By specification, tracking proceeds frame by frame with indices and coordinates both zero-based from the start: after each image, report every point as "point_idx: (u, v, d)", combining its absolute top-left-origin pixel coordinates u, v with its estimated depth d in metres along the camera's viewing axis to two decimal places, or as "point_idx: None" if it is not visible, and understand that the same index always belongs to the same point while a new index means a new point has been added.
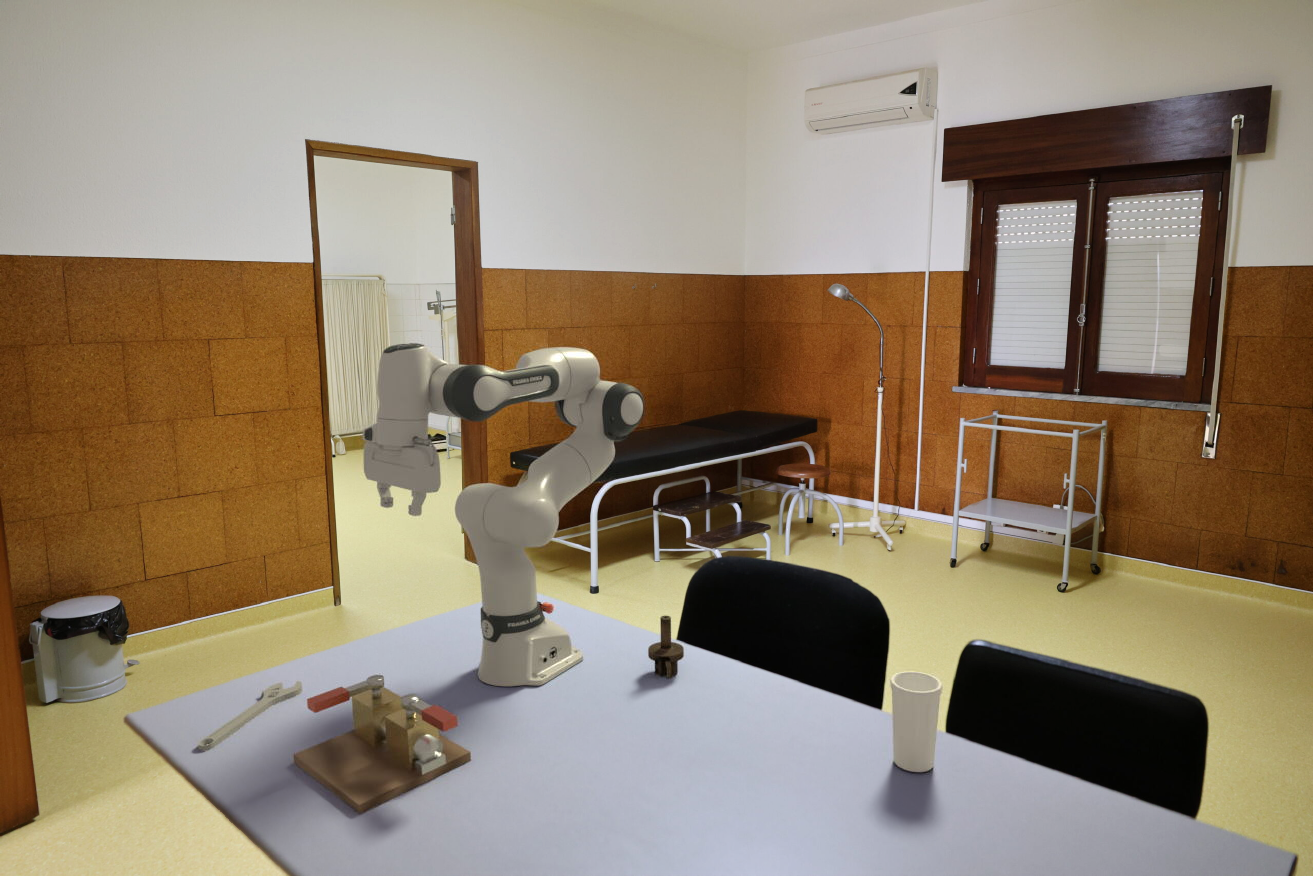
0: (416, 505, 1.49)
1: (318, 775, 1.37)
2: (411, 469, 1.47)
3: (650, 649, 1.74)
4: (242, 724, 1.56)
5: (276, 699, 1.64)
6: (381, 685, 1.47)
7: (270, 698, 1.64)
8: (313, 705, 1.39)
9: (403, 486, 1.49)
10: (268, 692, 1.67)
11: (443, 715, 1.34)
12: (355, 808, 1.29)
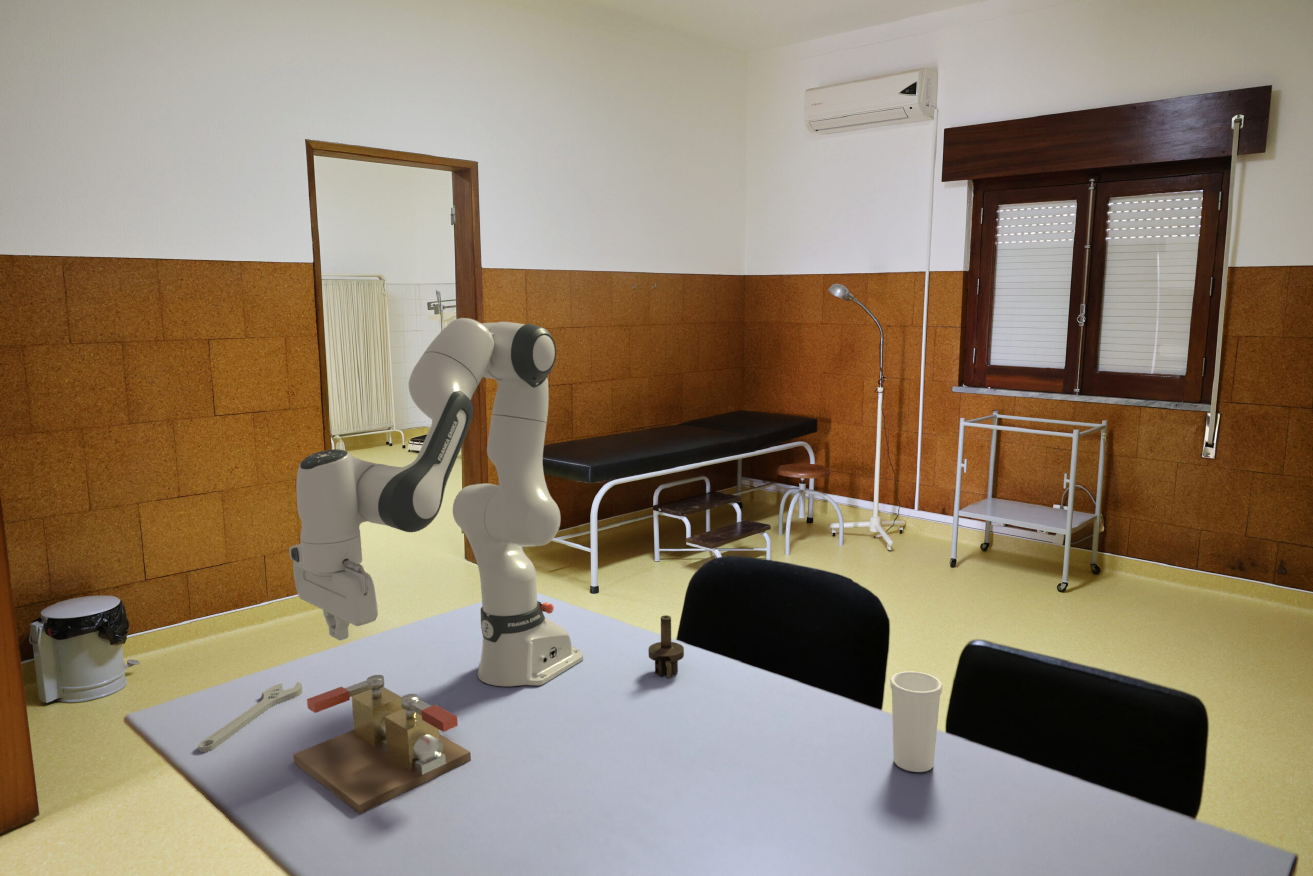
0: (341, 629, 1.35)
1: (318, 775, 1.37)
2: (343, 598, 1.30)
3: (650, 649, 1.74)
4: (242, 725, 1.55)
5: (276, 700, 1.64)
6: (381, 685, 1.47)
7: (270, 699, 1.64)
8: (313, 705, 1.39)
9: (337, 615, 1.32)
10: (268, 693, 1.66)
11: (443, 715, 1.34)
12: (355, 808, 1.29)
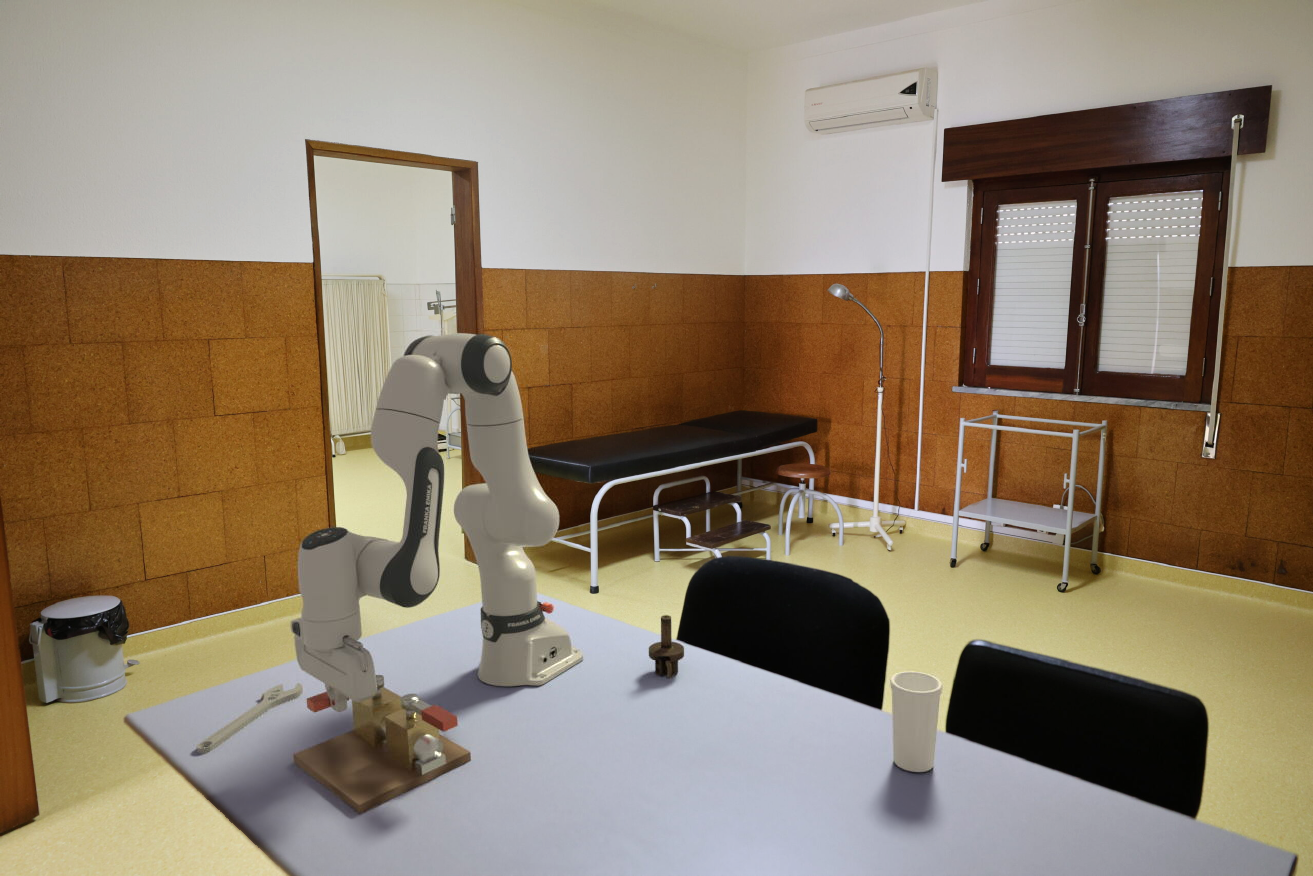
0: (340, 701, 1.39)
1: (318, 775, 1.37)
2: (343, 675, 1.34)
3: (650, 649, 1.74)
4: (241, 726, 1.55)
5: (276, 701, 1.64)
6: (381, 685, 1.47)
7: (270, 700, 1.64)
8: (312, 705, 1.39)
9: (337, 690, 1.36)
10: (268, 694, 1.66)
11: (443, 715, 1.34)
12: (355, 808, 1.29)
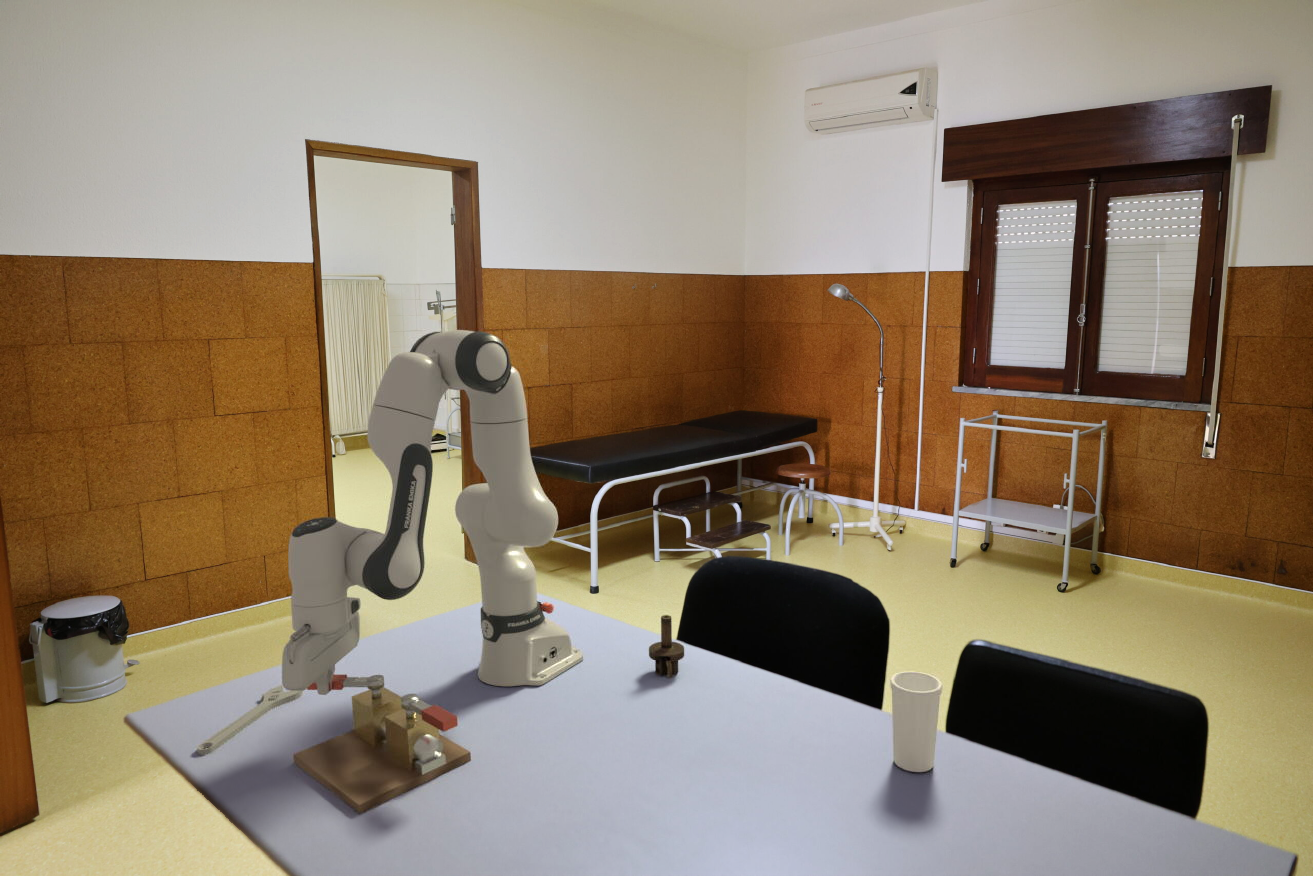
0: (319, 684, 1.45)
1: (318, 775, 1.37)
2: None
3: (651, 649, 1.74)
4: (242, 728, 1.54)
5: (276, 702, 1.63)
6: (375, 687, 1.46)
7: (270, 701, 1.63)
8: None
9: None
10: (268, 695, 1.65)
11: (443, 715, 1.34)
12: (355, 808, 1.29)
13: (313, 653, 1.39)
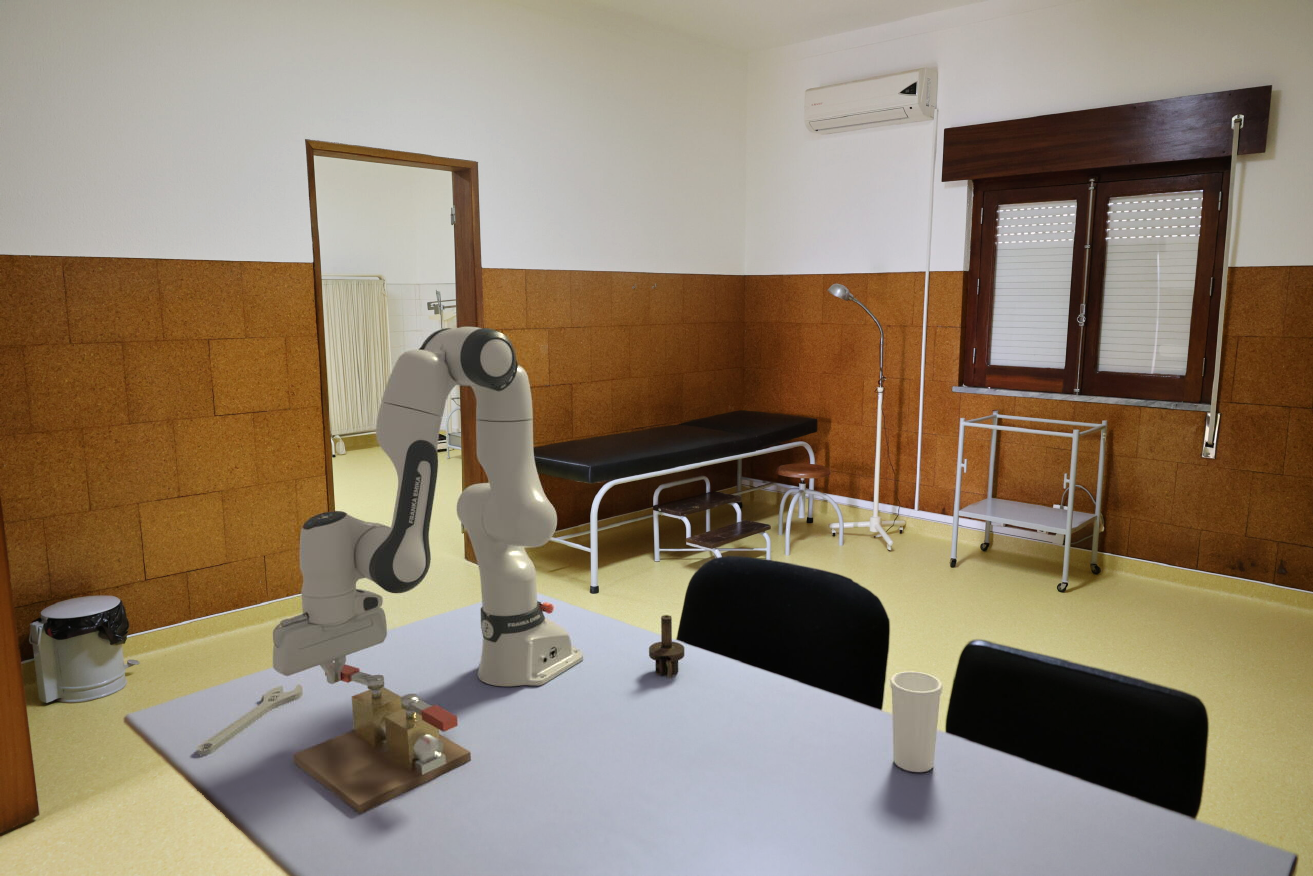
0: (327, 673, 1.49)
1: (318, 775, 1.37)
2: None
3: (651, 649, 1.74)
4: (241, 728, 1.54)
5: (276, 703, 1.63)
6: (371, 687, 1.46)
7: (270, 702, 1.63)
8: None
9: None
10: (268, 696, 1.65)
11: (443, 715, 1.34)
12: (355, 808, 1.29)
13: (305, 642, 1.43)
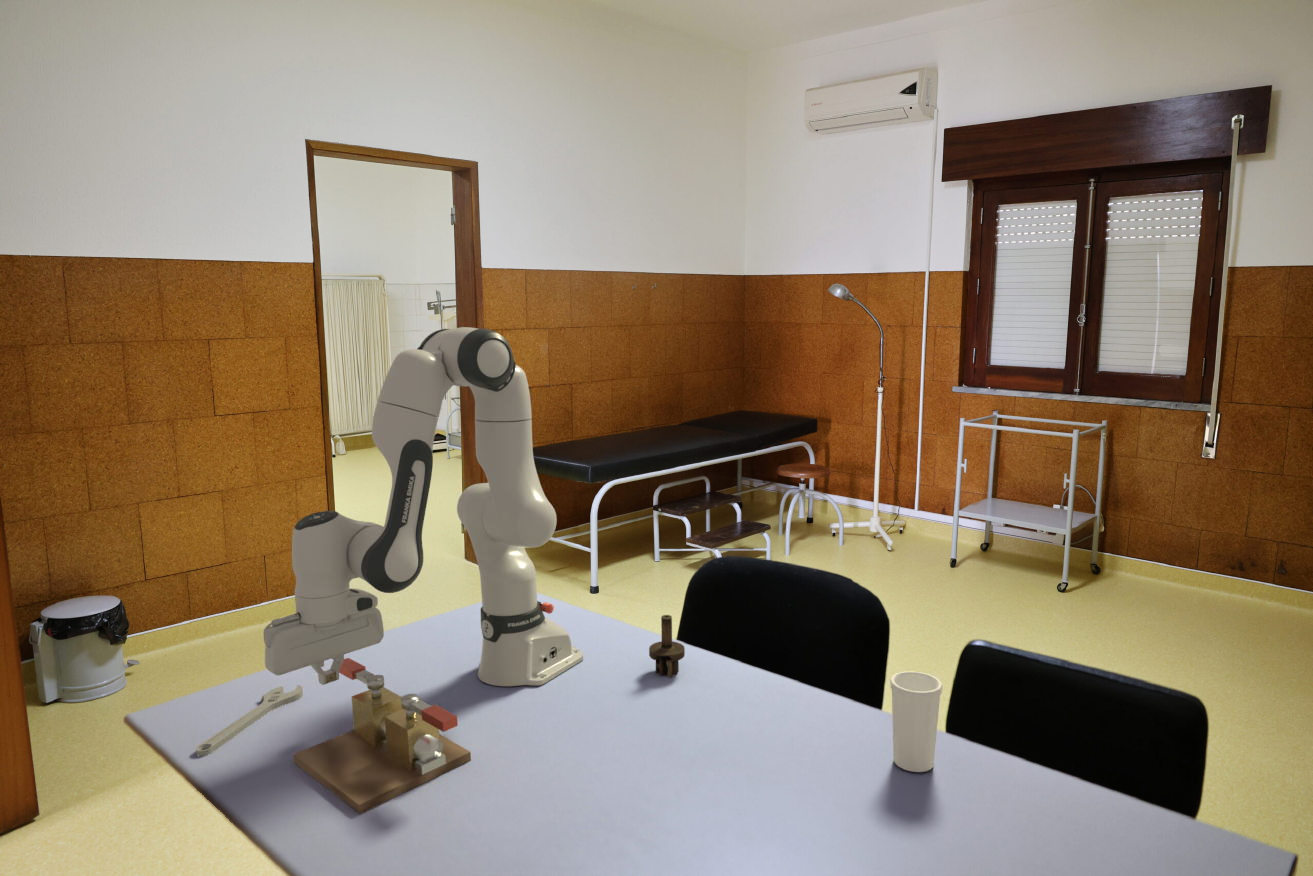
0: (318, 673, 1.48)
1: (318, 775, 1.37)
2: None
3: (651, 648, 1.74)
4: (241, 729, 1.54)
5: (276, 703, 1.63)
6: (369, 686, 1.46)
7: (270, 702, 1.63)
8: None
9: None
10: (268, 696, 1.65)
11: (443, 715, 1.34)
12: (355, 808, 1.29)
13: (296, 642, 1.43)
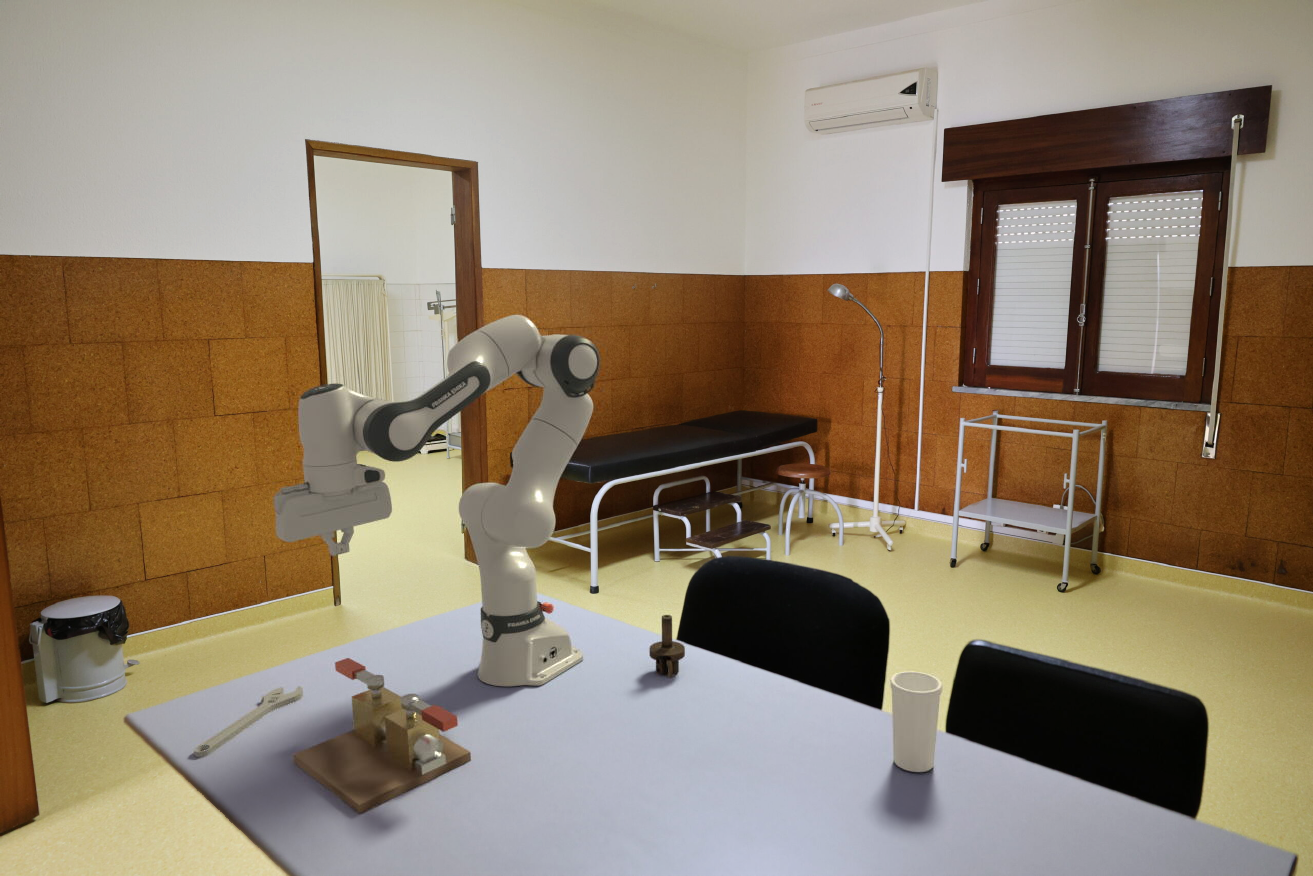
0: (329, 545, 1.51)
1: (318, 775, 1.37)
2: None
3: (651, 648, 1.74)
4: (240, 730, 1.54)
5: (276, 704, 1.62)
6: (369, 686, 1.46)
7: (270, 703, 1.62)
8: None
9: None
10: (268, 697, 1.65)
11: (443, 715, 1.34)
12: (355, 808, 1.29)
13: (306, 510, 1.45)
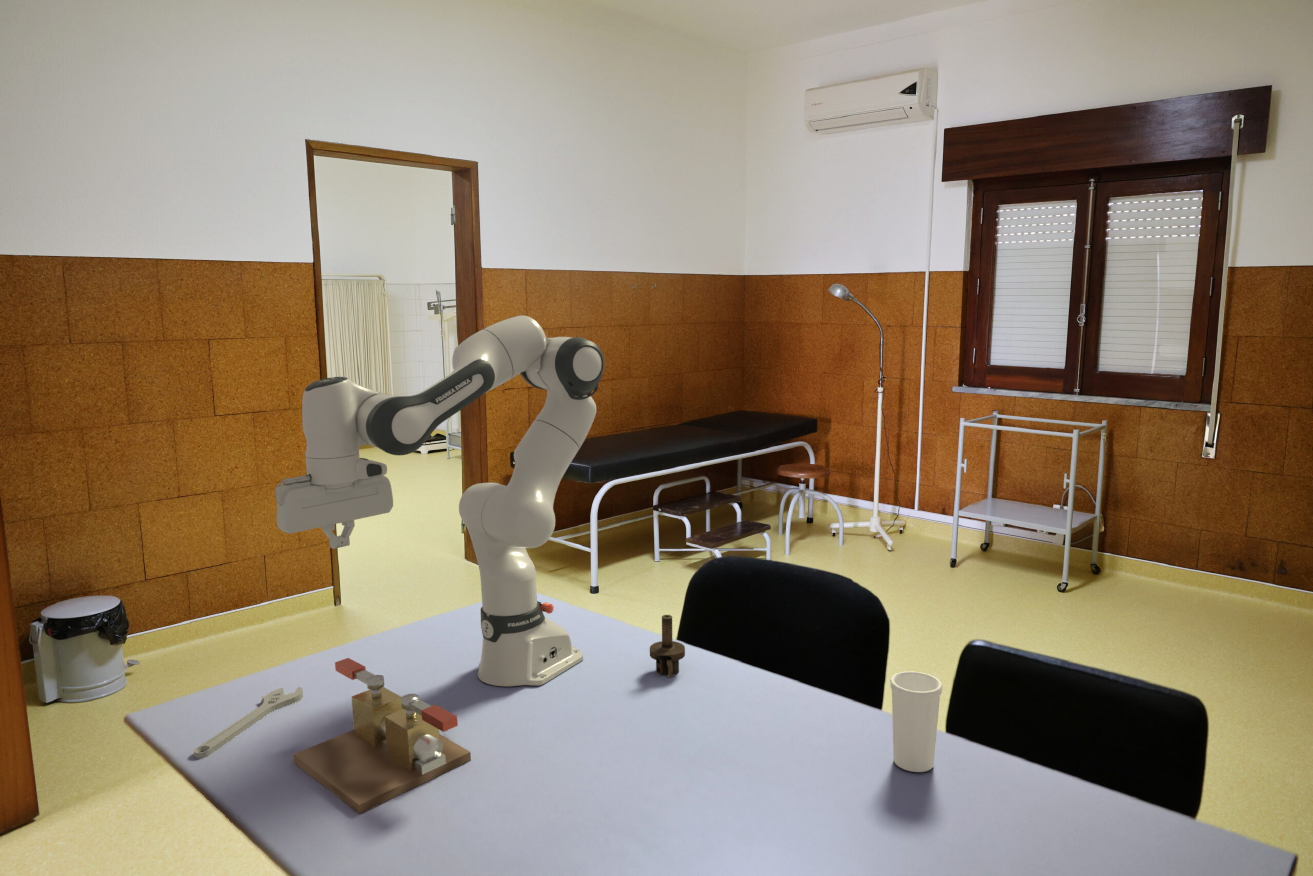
0: (329, 538, 1.51)
1: (318, 775, 1.37)
2: None
3: (651, 648, 1.74)
4: (240, 731, 1.53)
5: (276, 705, 1.62)
6: (369, 686, 1.46)
7: (270, 704, 1.62)
8: None
9: None
10: (268, 698, 1.64)
11: (443, 715, 1.34)
12: (355, 808, 1.29)
13: (307, 502, 1.45)
